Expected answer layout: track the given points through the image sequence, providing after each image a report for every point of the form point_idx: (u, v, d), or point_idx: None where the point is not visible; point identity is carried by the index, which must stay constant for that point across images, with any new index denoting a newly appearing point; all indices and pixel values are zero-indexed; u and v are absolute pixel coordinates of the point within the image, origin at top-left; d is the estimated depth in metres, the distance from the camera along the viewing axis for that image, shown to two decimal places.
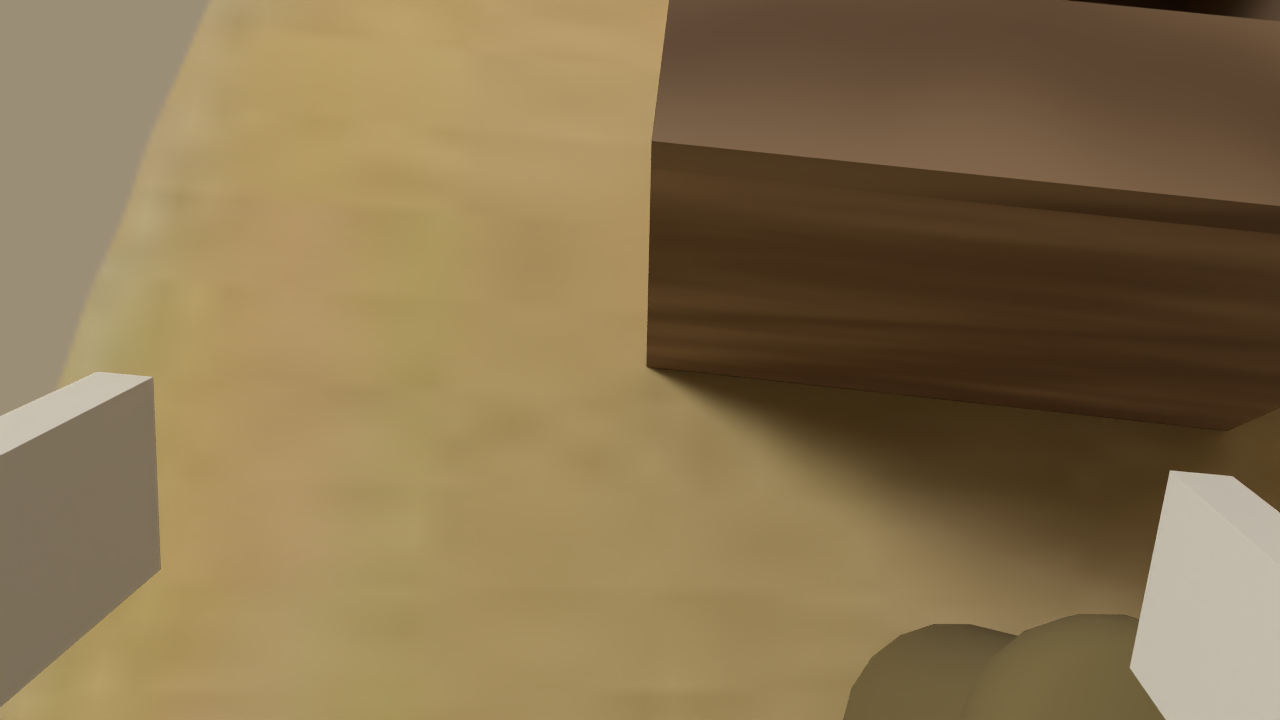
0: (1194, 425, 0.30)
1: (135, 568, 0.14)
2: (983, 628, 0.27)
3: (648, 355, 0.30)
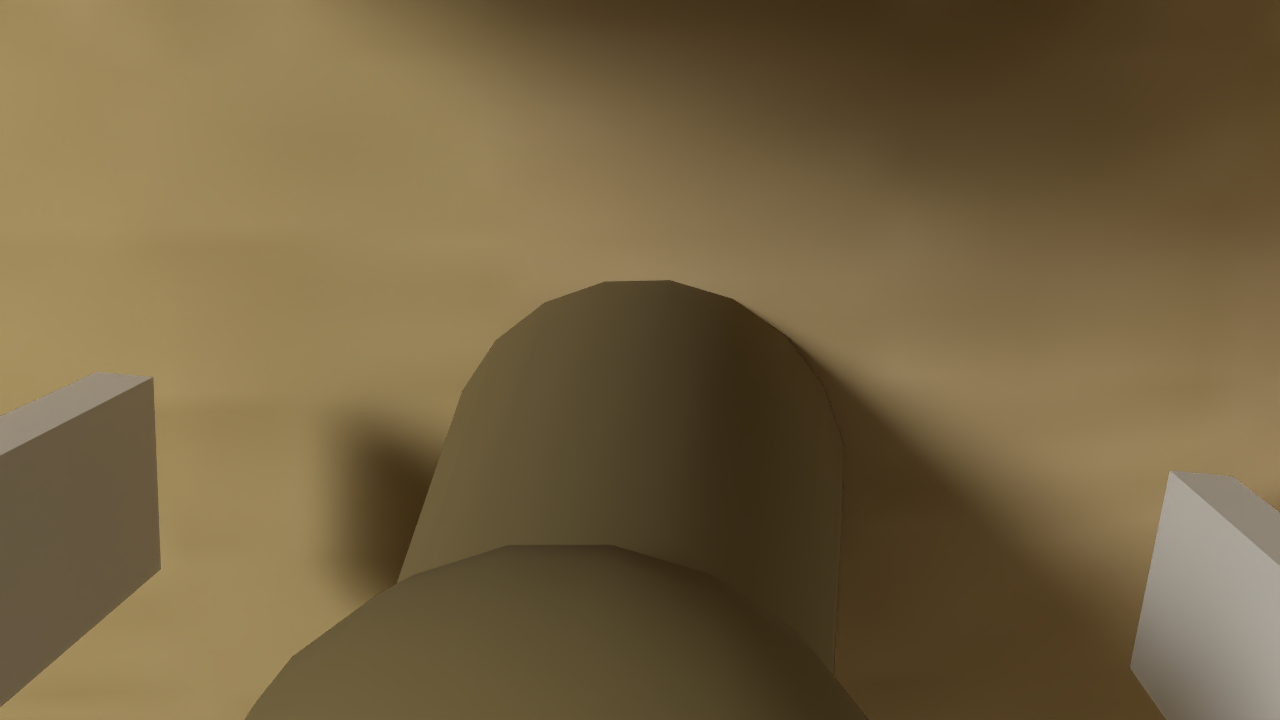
0: None
1: (135, 568, 0.14)
2: (656, 312, 0.15)
3: None
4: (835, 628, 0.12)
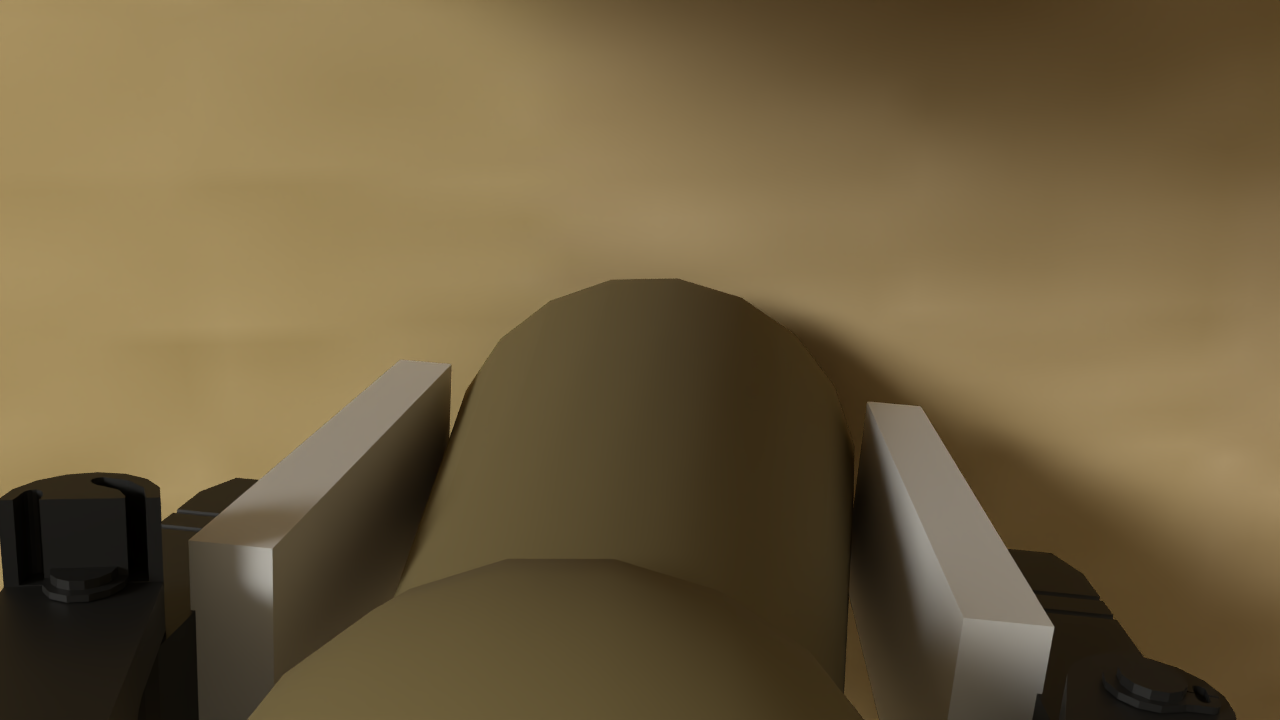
0: None
1: None
2: (663, 312, 0.14)
3: None
4: (846, 638, 0.12)
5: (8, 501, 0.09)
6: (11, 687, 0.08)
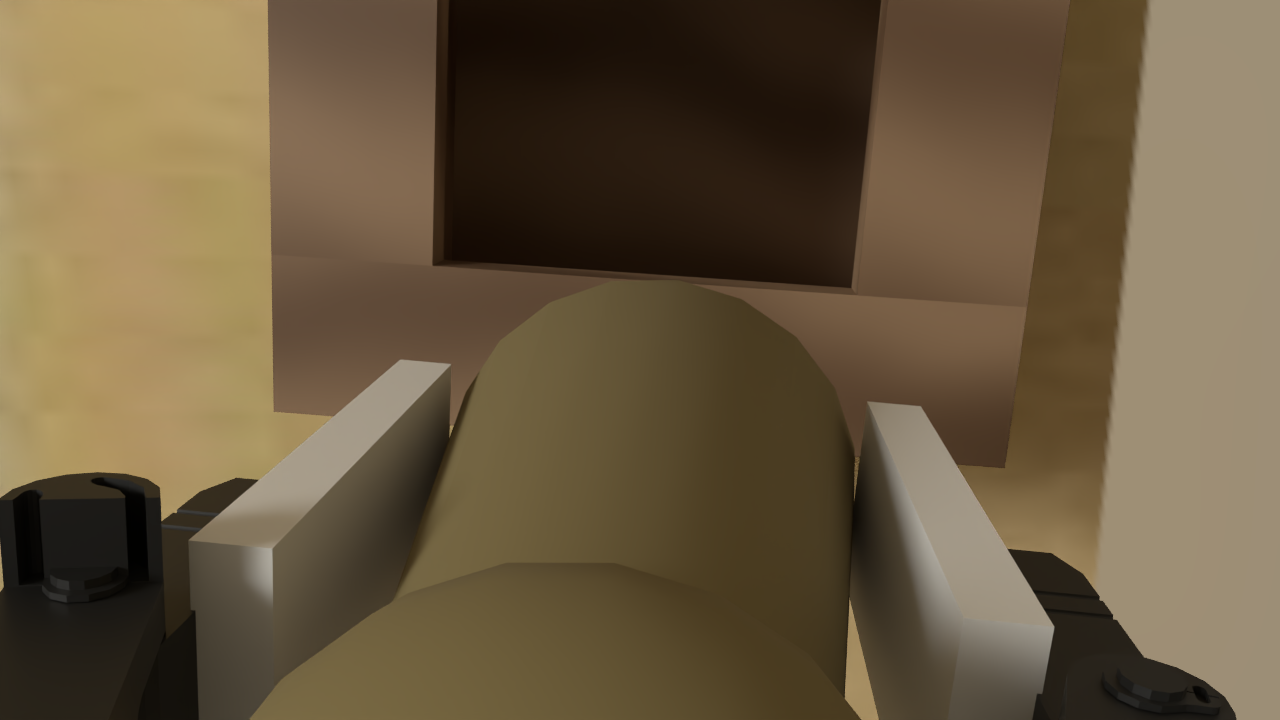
0: None
1: None
2: (663, 313, 0.14)
3: None
4: (846, 641, 0.12)
5: (7, 500, 0.09)
6: (9, 687, 0.08)
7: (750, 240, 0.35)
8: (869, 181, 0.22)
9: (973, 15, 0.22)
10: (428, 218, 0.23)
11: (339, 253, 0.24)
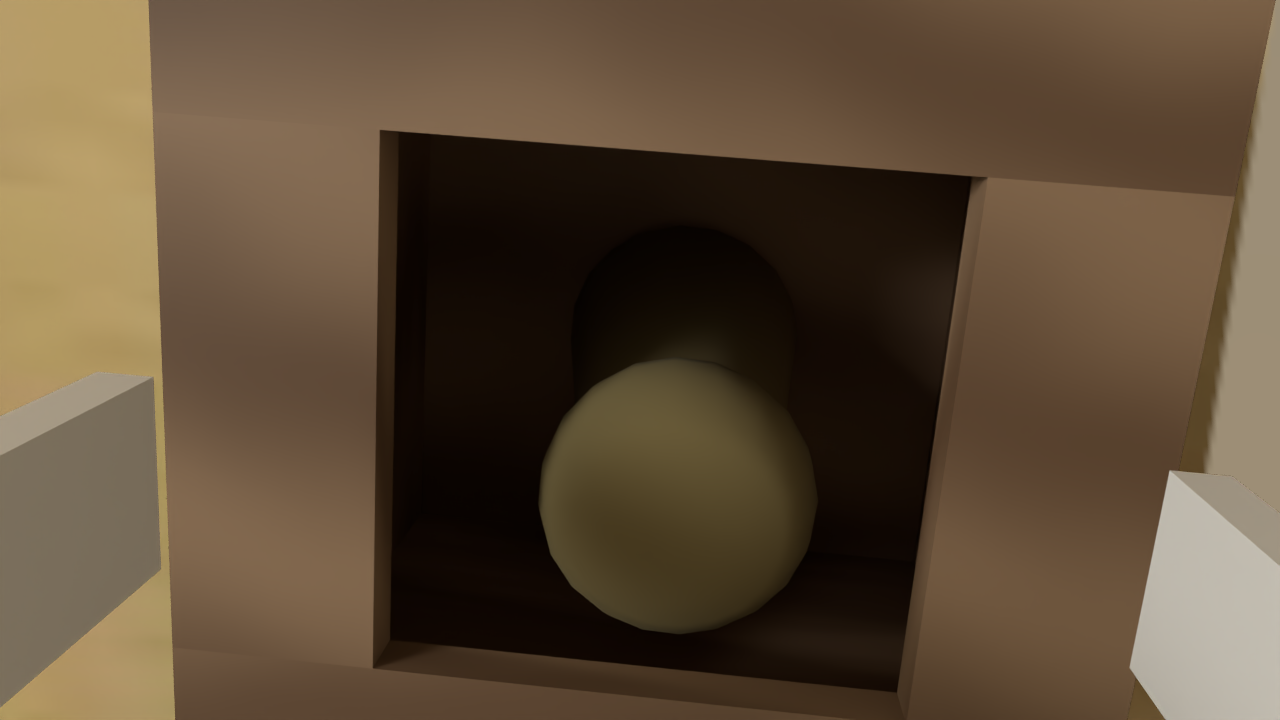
0: None
1: (135, 568, 0.14)
2: (676, 247, 0.27)
3: None
4: (786, 391, 0.25)
5: None
6: None
7: None
8: (925, 594, 0.18)
9: (1068, 404, 0.17)
10: (367, 614, 0.18)
11: (257, 649, 0.19)
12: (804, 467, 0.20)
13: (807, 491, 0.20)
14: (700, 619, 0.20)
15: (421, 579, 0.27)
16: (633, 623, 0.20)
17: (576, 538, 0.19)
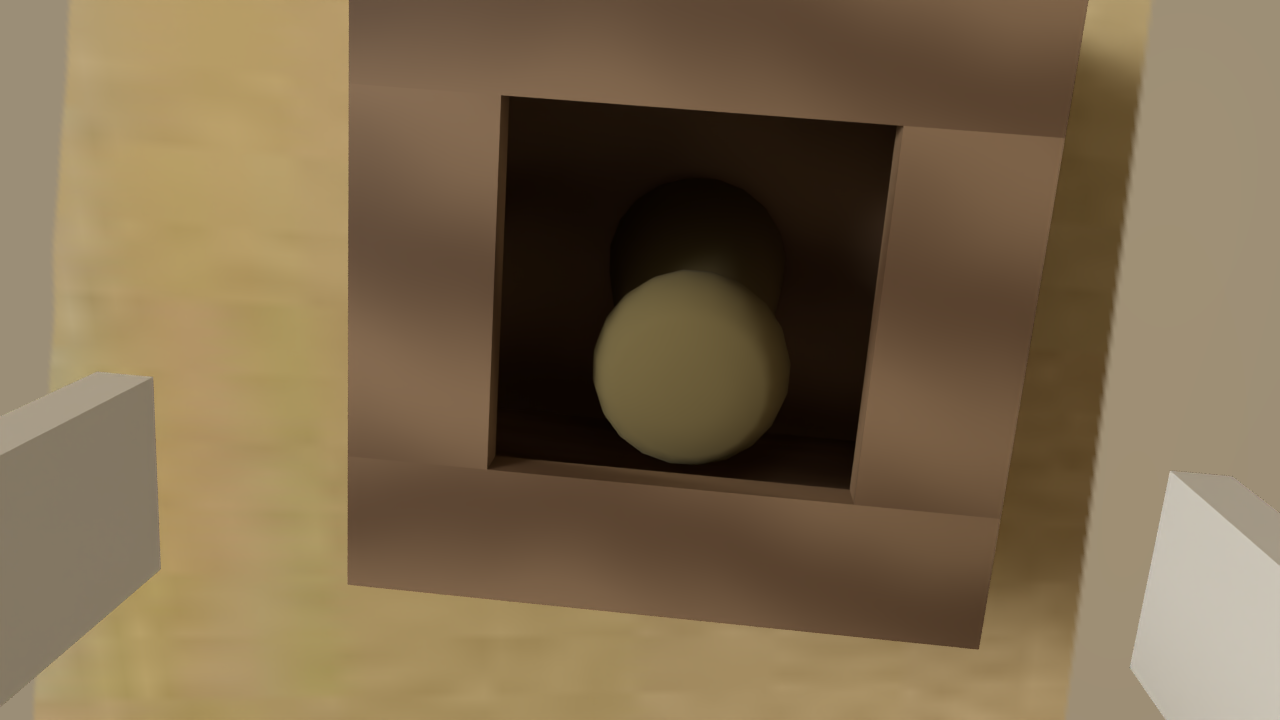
0: None
1: (135, 568, 0.14)
2: (685, 194, 0.35)
3: None
4: (773, 296, 0.33)
5: None
6: None
7: None
8: (866, 412, 0.26)
9: (959, 279, 0.25)
10: (484, 430, 0.27)
11: (407, 457, 0.27)
12: (777, 339, 0.28)
13: (780, 356, 0.28)
14: (710, 451, 0.28)
15: (496, 447, 0.36)
16: (664, 458, 0.29)
17: (621, 397, 0.28)
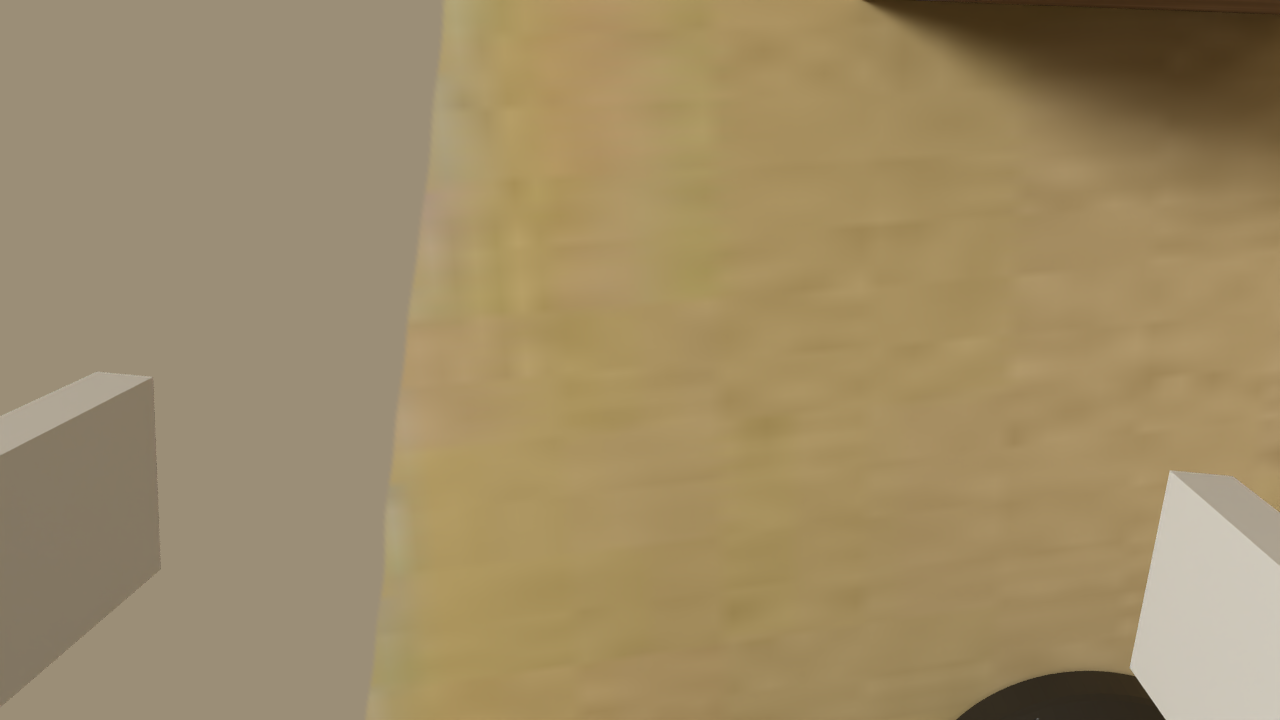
0: (1267, 12, 0.41)
1: (135, 568, 0.14)
2: None
3: None
4: None
5: None
6: None
7: None
8: None
9: None
10: None
11: None
12: None
13: None
14: None
15: None
16: None
17: None
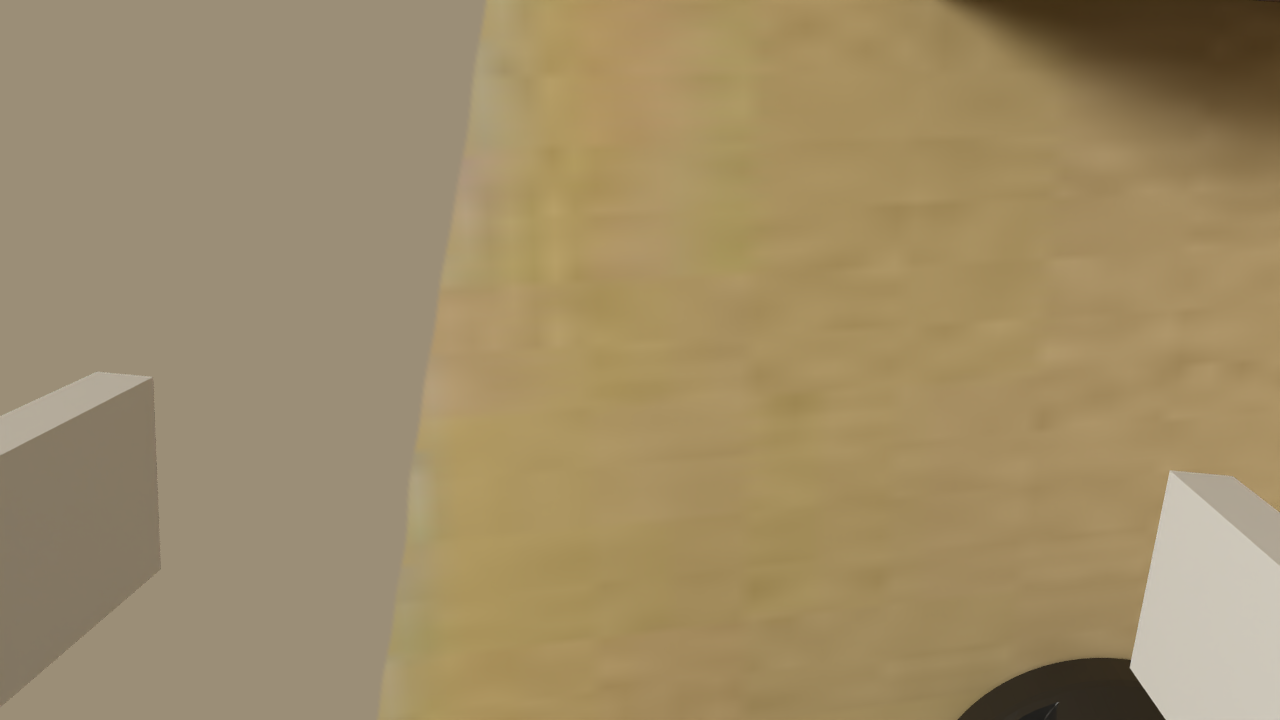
0: None
1: (135, 568, 0.14)
2: None
3: None
4: None
5: None
6: None
7: None
8: None
9: None
10: None
11: None
12: None
13: None
14: None
15: None
16: None
17: None
